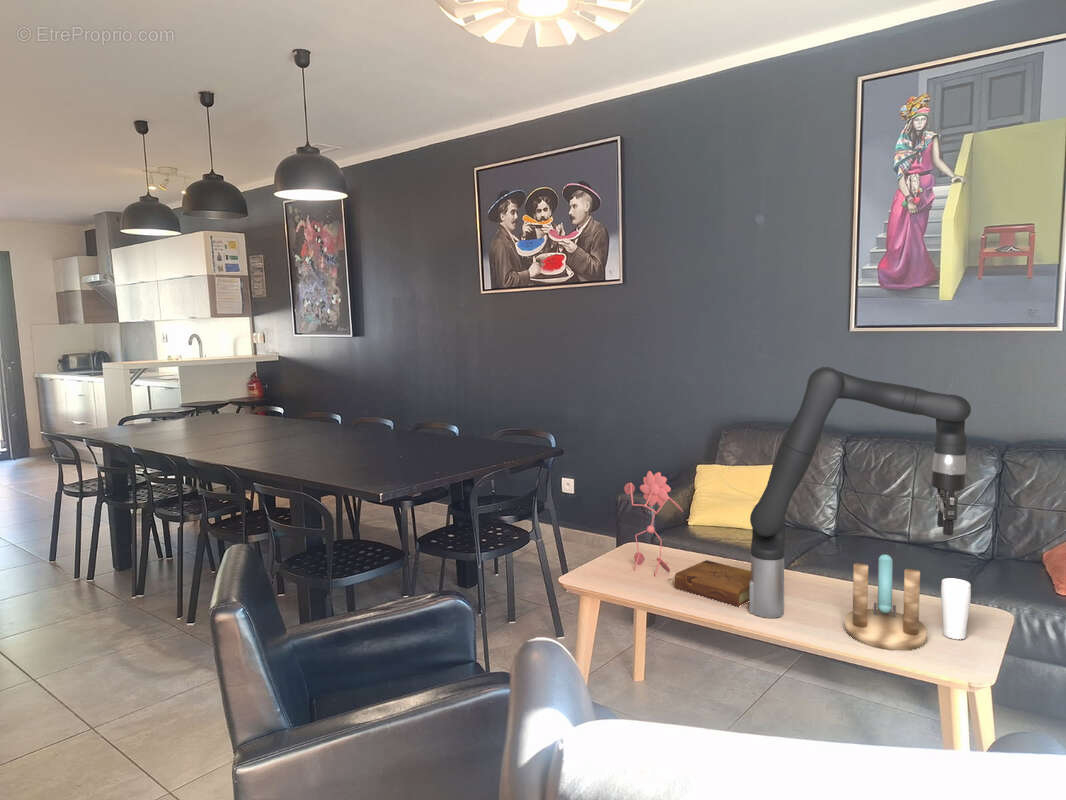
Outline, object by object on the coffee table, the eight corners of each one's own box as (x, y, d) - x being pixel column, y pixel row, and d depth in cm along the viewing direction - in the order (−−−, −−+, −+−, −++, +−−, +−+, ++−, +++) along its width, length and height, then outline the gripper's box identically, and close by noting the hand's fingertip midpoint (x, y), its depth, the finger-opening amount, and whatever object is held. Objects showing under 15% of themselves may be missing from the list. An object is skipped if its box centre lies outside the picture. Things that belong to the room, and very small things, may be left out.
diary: (674, 591, 225) (674, 573, 225) (706, 576, 238) (706, 560, 238) (738, 609, 209) (738, 590, 208) (768, 592, 222) (768, 574, 221)
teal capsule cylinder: (877, 611, 193) (878, 552, 199) (877, 613, 196) (878, 555, 202) (892, 613, 191) (892, 553, 197) (891, 615, 194) (892, 556, 200)
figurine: (673, 582, 231) (674, 479, 228) (614, 565, 250) (614, 469, 247) (700, 572, 241) (701, 473, 238) (641, 556, 260) (641, 464, 257)
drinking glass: (936, 636, 186) (938, 582, 184) (943, 629, 191) (945, 576, 189) (965, 644, 181) (967, 588, 180) (972, 636, 186) (974, 581, 184)
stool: (842, 642, 184) (843, 570, 182) (845, 614, 202) (847, 549, 200) (929, 656, 175) (931, 581, 173) (924, 626, 193) (926, 557, 191)
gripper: (928, 465, 190) (924, 523, 191) (937, 473, 177) (933, 536, 178) (959, 467, 187) (955, 526, 189) (971, 476, 174) (966, 539, 176)
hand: (944, 530), depth 184 cm, fingers open, 8 cm apart
